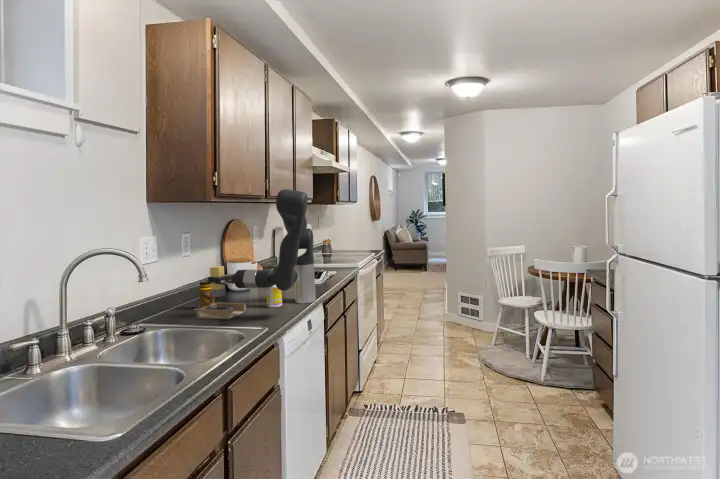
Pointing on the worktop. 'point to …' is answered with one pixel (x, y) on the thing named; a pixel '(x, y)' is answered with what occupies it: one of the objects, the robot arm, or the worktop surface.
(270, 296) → the supplement bottle
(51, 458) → the worktop surface
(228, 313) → the walled box
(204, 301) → the condiment
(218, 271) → the yellow upright block
